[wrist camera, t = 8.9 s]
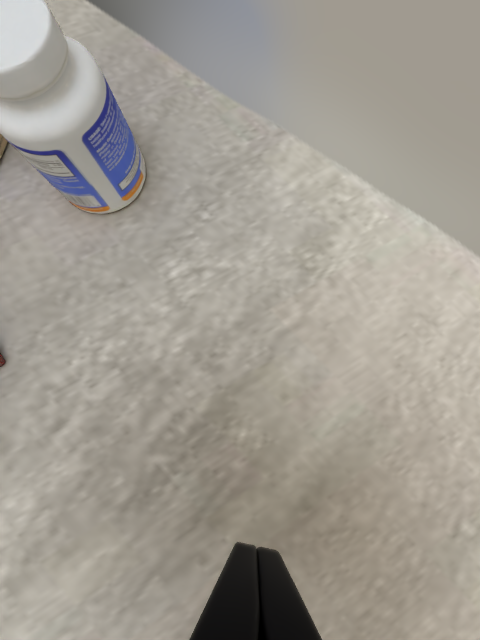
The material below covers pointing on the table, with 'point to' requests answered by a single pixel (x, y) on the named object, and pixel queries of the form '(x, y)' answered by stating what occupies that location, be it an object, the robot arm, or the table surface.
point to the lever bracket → (1, 360)
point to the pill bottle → (64, 112)
